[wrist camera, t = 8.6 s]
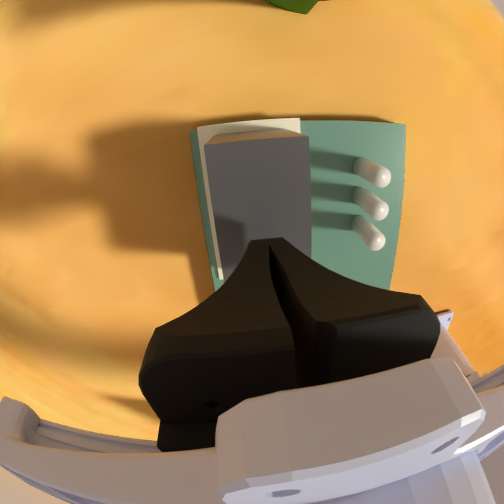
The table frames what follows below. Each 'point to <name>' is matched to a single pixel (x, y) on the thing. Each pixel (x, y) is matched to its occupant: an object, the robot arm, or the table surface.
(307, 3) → the green and brown cylinder
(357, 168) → the header board
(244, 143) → the block
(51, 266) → the table surface
